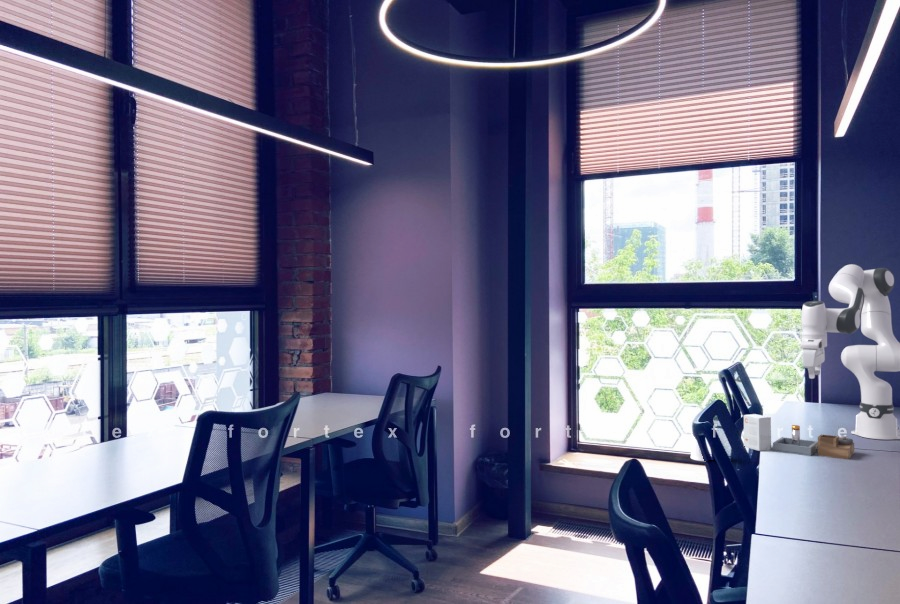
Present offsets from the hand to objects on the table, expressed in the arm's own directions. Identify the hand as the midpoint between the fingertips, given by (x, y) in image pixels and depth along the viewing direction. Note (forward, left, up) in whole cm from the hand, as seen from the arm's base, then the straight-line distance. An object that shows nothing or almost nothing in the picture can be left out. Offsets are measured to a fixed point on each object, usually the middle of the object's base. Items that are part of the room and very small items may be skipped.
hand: (814, 376), depth 259 cm
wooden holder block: (+7, +9, -28) cm, 31 cm away
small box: (+15, -17, -29) cm, 37 cm away
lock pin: (+9, -5, -28) cm, 30 cm away
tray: (+9, -5, -28) cm, 30 cm away
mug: (+46, -28, -29) cm, 61 cm away
